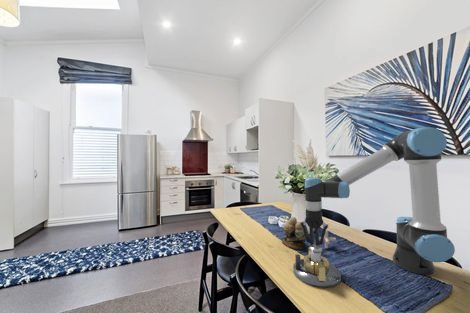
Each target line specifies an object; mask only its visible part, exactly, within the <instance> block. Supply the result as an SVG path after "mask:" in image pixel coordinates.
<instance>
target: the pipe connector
mask: <svg viewBox="0 0 470 313" xmlns="http://www.w3.org/2000/svg"><path fill="white" fill-rule="evenodd" d="M320 239H321V236H319V241H320ZM331 242H337V238H336V237H331V236H330V237H329V230H328V229H326V233H325V237H324V248H325V249H329V245H330V244H331Z"/></svg>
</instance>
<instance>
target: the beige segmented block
mask: <svg viewBox="0 0 470 313" xmlns="http://www.w3.org/2000/svg"><path fill="white" fill-rule="evenodd" d="M303 259H304V267H305V270H306V271H308V272H310V273H312V274H315V275H317V277H318V279H319V281H325V274H327V273H328V272H329V263H330V261H329V260H328V258H326V257H325V256H322V255H321V261H316V263H314V262H312V261H311V250H310V246H309V247H308V254H306V255H304V257H303Z"/></svg>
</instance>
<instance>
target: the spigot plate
mask: <svg viewBox="0 0 470 313" xmlns="http://www.w3.org/2000/svg"><path fill="white" fill-rule="evenodd" d="M309 247H310V250H311V261H312V262H314V263H316V261H321V256H322V252H323V247H322V246H321V245H319V246H317V245H311V244H310V246H309ZM294 256H295V257H294V258H295V260H294V263H293V265H292V268H293V269H292V270H293V274H294V277H295V278H297V279H298V280H299V281H300V282H302V283H304V284H306V285H308V286H310V287H314V288H319V289H330V288H335V287H338V286H339V285H340V284H341V281H342V273H341V271H340V270H339V268H337V267H336V266H335V265H334V264H331V263H330V262H329V272H328V273H327V274H325V281H319V279H318V277H317V275H315V274H312V273H310V272H308V271H306V270H305V267H304V258H301V255H300V254H298V253H297V254H294Z"/></svg>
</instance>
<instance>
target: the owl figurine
mask: <svg viewBox="0 0 470 313" xmlns="http://www.w3.org/2000/svg"><path fill="white" fill-rule="evenodd" d="M301 222H302V221H297V218H296V217H294V216H292V217H290V218H289V219H288V220H287V221H285V223H284V224H283V232H284V236H285V237H283V239H281V243H282V244H283V245H284V246H285V247H286V248H289V249H291V250H295V251H303V250H307V249H308V246H307V244H306V243H305V241H306V238H305V234H304V230H303V227H302V225H301Z"/></svg>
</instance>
